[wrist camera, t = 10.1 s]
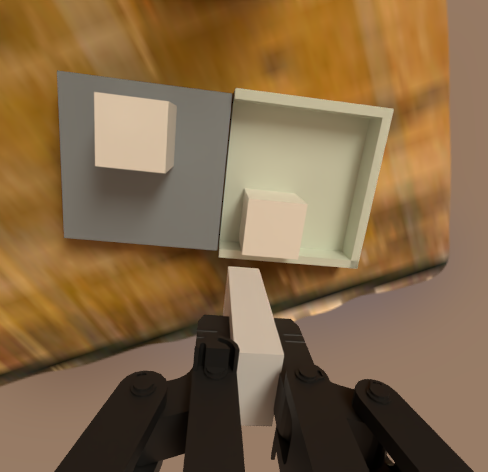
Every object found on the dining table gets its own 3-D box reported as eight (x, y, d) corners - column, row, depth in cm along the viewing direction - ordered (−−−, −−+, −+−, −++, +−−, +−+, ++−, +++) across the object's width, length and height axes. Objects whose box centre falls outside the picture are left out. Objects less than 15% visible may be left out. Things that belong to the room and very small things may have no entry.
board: (75, 230, 33) (64, 237, 31) (70, 75, 29) (57, 70, 27) (217, 242, 35) (217, 250, 32) (231, 96, 31) (232, 93, 28)
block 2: (238, 237, 34) (241, 254, 29) (244, 188, 33) (248, 198, 28) (287, 241, 35) (298, 259, 30) (294, 193, 33) (307, 204, 29)
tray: (218, 246, 35) (218, 257, 32) (234, 91, 31) (235, 87, 28) (345, 256, 36) (357, 268, 33) (377, 110, 32) (393, 108, 29)
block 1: (115, 160, 29) (95, 166, 25) (115, 98, 28) (94, 91, 23) (173, 166, 30) (165, 173, 25) (176, 105, 28) (168, 101, 24)
